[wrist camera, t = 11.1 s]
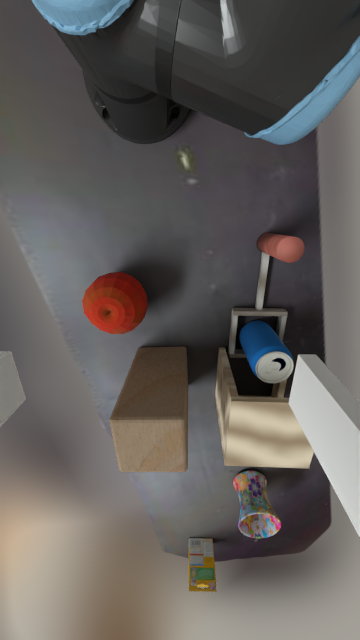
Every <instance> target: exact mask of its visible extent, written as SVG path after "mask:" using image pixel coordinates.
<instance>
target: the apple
mask: <svg viewBox="0 0 360 640" xmlns="http://www.w3.org/2000/svg"><path fill="white" fill-rule="evenodd" d="M82 302H83V308H84V313H85V315H86V316H87V318H88V319H89V320H90V322H91V323H92V324H93V325H95V326H96V327H97V328H99V329H100V330H102V331H105V332H108V333H111V334H124V333H126V332H129V331H131V330H133V329H134V328H135V327H137V326H138V325H139V324H140V323H141V321H142V320H143V318H144V317H145V314H146V311H147V308H148V305H147V295H146V292H145V290H144V289H143V287H142V285H141V283H139V282H138V281H137V280H136V279H135V278H134V277H133V276H130V275H128V274H125V273H122V272H118V273H108V274H105V275H103V276H100V277H98V278H97V279H96V280H95V281H94V282H93V283H92V284H91V286H90V287H89V288H88V289H87V290H86V292H85V295H84V298H83V301H82Z"/></svg>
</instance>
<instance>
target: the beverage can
mask: <svg viewBox="0 0 360 640" xmlns="http://www.w3.org/2000/svg"><path fill="white" fill-rule="evenodd" d="M239 340H240V343H241V345H242V348H243V350H244V352H245V355H246V357H247V360H248V362H249V364H250V367H251V369H252V371H253V373H254V374H255V375H256V376H257V377H258V378H260V379H261V380H262V381H264V382H266V383H279V382H281V381H284V380H285V379H287V378H288V377H289V376H290V375H291V373H292V371H293V367H294V365H293V357H292V354H291V353H290V351H289V350H288V349H287V347H286V346H285V345H284V343H283V342H282V341H281V340H280V338H279V337H278V336H277V334H276V333H275V332H274V330H273V329H272V328H271V327H270V325H269V324H267V323H266V322H263V321H252V322H249V323H247V324H246V325H245V326H244V327H243V328H242V329H241V331H240V334H239Z"/></svg>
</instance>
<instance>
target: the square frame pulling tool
mask: <svg viewBox="0 0 360 640" xmlns="http://www.w3.org/2000/svg"><path fill="white" fill-rule="evenodd" d="M257 247H258V249H259V250H260V251H261V252H262V258H261V266H260V274H259V282H258V290H257V298H256V306H255V308H232V315H231V326H230V337H229V349H228V354H229V357H230V358H247V357H246V355H245V352H244V350H243V349H235V341H236V331H237V321H238V316H278V320H277V326H276V332H275V333H276V334H277V336H278V337H279V338H280V340H281V341H282V342H283V336H284V331H285V325H286V319H287V314H288V312H287V311H286V310H285V309H284V308H262V307H263V300H264V292H265V285H266V278H267V271H268V263H269V256H273V257H275V258H277V259H280V260H282V261H284V262H287V263H292V262H295V261H297V260H298V259H300V258H301V256H302V255H303V253H304V249H305V247H304V243H303V241H302V240H301V239H300V238H298V237H292V236H286V235H279V234H273V233H264V234H262V235H261V236H260V237H259V238H258V240H257Z"/></svg>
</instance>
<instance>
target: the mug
mask: <svg viewBox="0 0 360 640" xmlns="http://www.w3.org/2000/svg"><path fill="white" fill-rule="evenodd" d="M266 484H267V481H266V478H265V476H264V475H263V474H261V473H259V472H257V471H244V472H241V473H239V474H238V475H237V476H236V477H235V478H234V481H233V485H234V488H235V489H236V491H237V493H238V495H239V499H240V519H239V523H238V527H239V530H240V531H241V532H242V533H243V534H244V535H246V536H248V537H252V538H266V537H270V536H272V535H274V534H276V533H277V532H278V531H279V529H280V528H281V521H280V519H279V518H278V516H277V515H276V514H275V512H274V510H273V509H272V507H271V505H270V503H269V500H268V497H267V493H266Z"/></svg>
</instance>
